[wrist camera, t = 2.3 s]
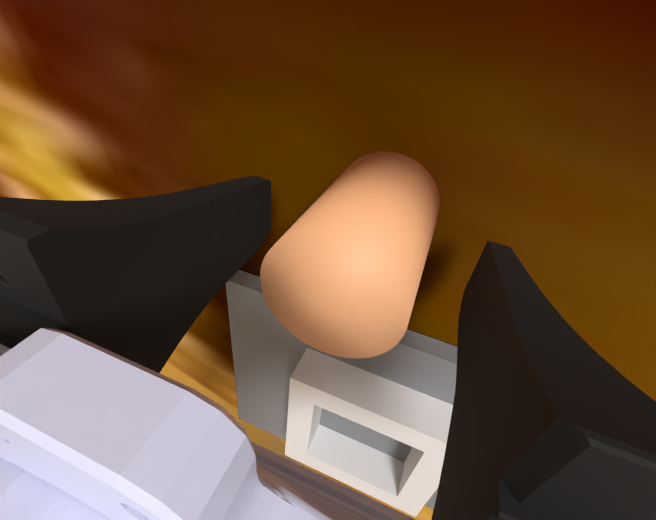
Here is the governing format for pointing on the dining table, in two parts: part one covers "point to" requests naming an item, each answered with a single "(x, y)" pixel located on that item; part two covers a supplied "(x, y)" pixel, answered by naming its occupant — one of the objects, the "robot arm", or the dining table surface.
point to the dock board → (346, 402)
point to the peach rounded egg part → (355, 258)
